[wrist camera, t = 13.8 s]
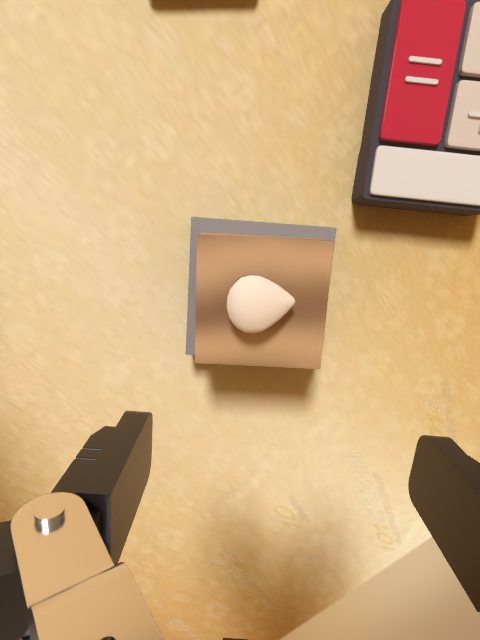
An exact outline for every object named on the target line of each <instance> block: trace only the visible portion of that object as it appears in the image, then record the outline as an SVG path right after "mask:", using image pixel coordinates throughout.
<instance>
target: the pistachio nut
mask: <svg viewBox="0 0 480 640" xmlns="http://www.w3.org/2000/svg"><path fill="white" fill-rule="evenodd" d="M294 304H295V299H294V298H293V297H292V296H291V295H290V294H289V293H288V292H287V291H285V290H284V289H283V288H281V287H280V286H279V285H277V284H275V283H274V282H272V281H270V280H269V279H266V278H264V277H262V276H260V275H246V276H241V277H240V278H239V279H238V280H236V281H235V282H234V284H233V285H232V286H231V288H230V291H229V293H228V297H227V310H228V314H229V318H230V319H231V321H232V323H233V324H234V325H235V326H236V327H237V328H238V329H239V330H241V331H243V332H245V333H257V332H261V331H264V330H265V329H267V328H269V327H270V326H272V325H273V324H274V323H276V322H277V321H278V320H280V319H281V318H282V317H283V316H284V315H285V314H286V313H287V312H288V311H289V310H290V309H291V308H292V306H293V305H294Z"/></svg>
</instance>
